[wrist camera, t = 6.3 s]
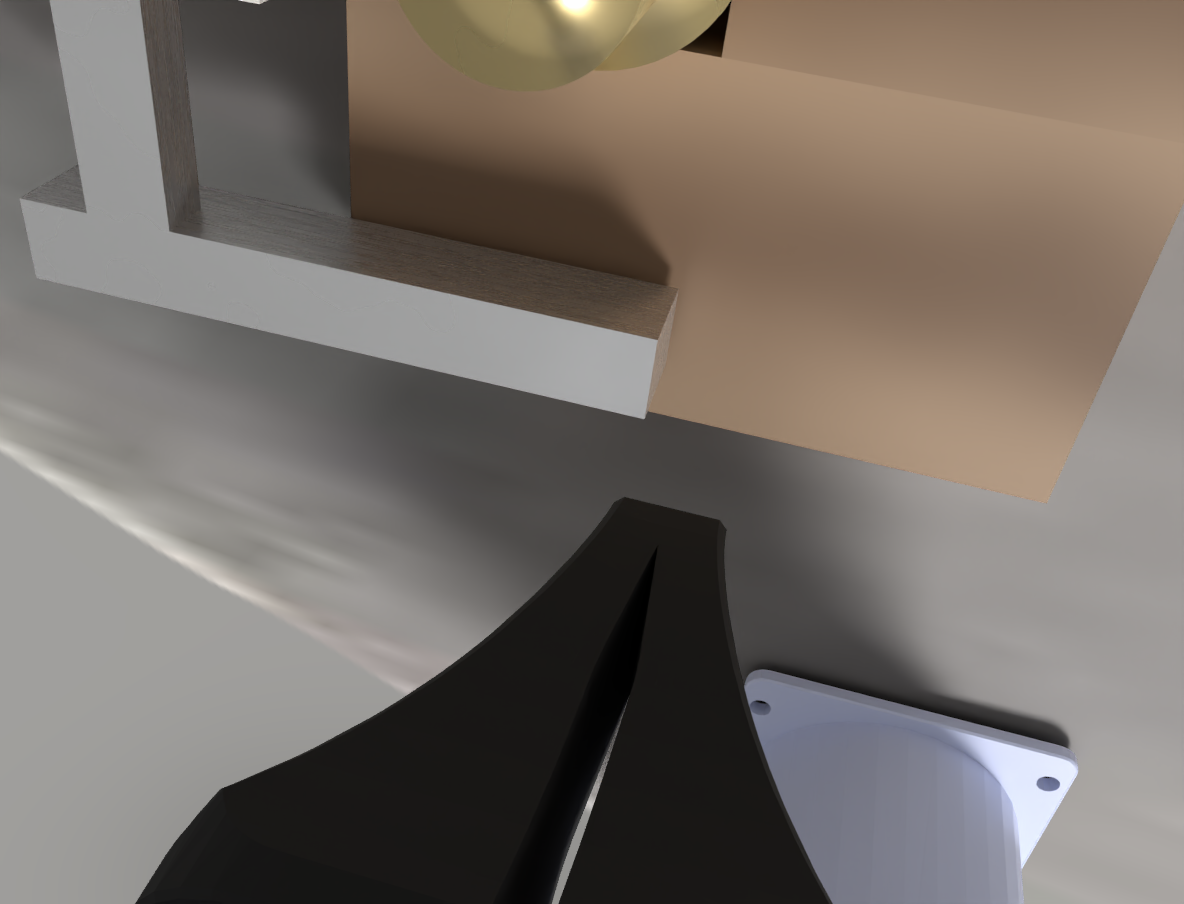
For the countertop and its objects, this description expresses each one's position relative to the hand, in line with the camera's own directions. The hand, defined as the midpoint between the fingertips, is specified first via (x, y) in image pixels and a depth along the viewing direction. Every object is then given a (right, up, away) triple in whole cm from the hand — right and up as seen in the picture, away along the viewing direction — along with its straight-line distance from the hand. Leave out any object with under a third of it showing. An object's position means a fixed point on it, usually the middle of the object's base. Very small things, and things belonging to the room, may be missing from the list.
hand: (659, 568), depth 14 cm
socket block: (+2, +9, +5) cm, 10 cm away
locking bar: (-5, +6, +5) cm, 9 cm away
